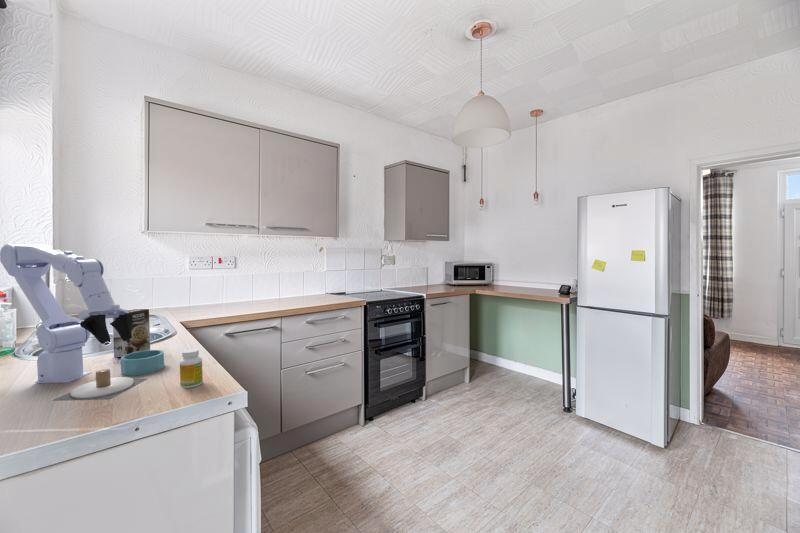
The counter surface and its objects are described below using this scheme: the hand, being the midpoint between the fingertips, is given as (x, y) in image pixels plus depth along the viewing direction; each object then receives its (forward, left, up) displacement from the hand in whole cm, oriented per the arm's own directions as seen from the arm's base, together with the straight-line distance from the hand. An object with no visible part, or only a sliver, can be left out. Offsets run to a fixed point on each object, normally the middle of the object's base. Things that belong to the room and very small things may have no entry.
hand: (117, 340), depth 97 cm
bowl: (-2, +13, -13) cm, 18 cm away
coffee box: (-18, +31, -13) cm, 38 cm away
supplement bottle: (+20, 0, -13) cm, 24 cm away
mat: (-2, -3, -13) cm, 13 cm away
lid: (-2, -3, -12) cm, 13 cm away
